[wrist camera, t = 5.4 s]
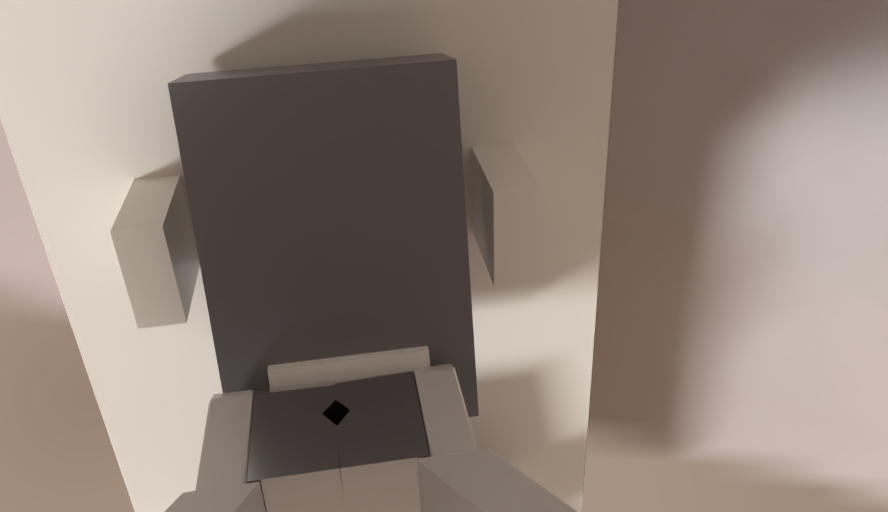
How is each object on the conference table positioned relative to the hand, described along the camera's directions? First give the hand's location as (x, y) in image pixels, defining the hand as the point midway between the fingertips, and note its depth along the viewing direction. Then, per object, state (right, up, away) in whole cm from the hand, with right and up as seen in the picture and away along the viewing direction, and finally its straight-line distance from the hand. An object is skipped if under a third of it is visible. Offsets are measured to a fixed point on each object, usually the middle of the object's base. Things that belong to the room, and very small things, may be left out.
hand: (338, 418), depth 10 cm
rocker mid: (0, +2, 0) cm, 2 cm away
